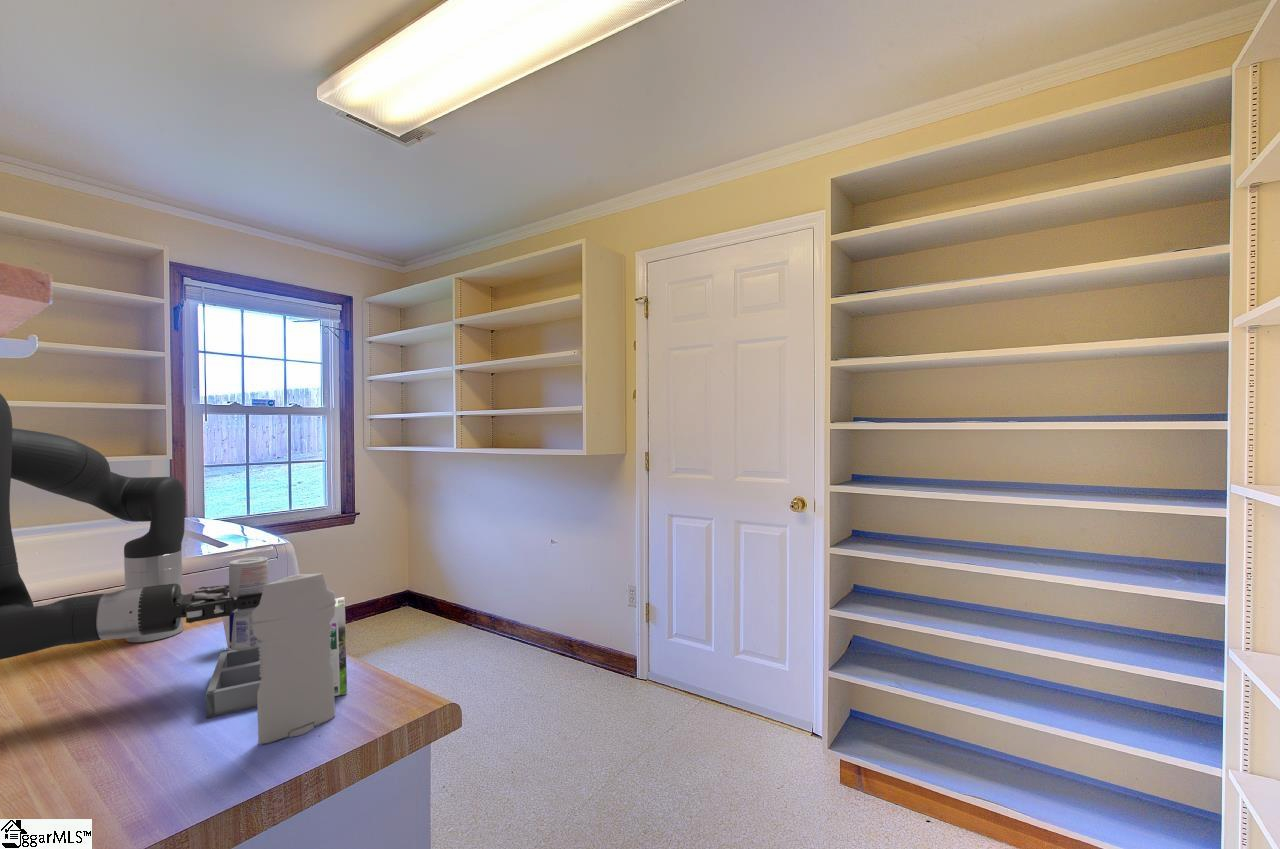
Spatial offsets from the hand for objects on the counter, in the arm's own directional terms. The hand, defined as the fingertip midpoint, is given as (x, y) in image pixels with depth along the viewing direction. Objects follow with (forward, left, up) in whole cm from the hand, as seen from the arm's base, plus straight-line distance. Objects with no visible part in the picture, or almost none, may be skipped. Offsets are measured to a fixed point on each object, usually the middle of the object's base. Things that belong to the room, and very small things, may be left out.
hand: (266, 594), depth 100 cm
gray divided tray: (+4, -2, -14) cm, 15 cm away
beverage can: (0, -3, -9) cm, 9 cm away
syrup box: (+14, +9, -14) cm, 21 cm away
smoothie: (-17, -5, -14) cm, 23 cm away
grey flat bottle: (+25, +5, -14) cm, 29 cm away
